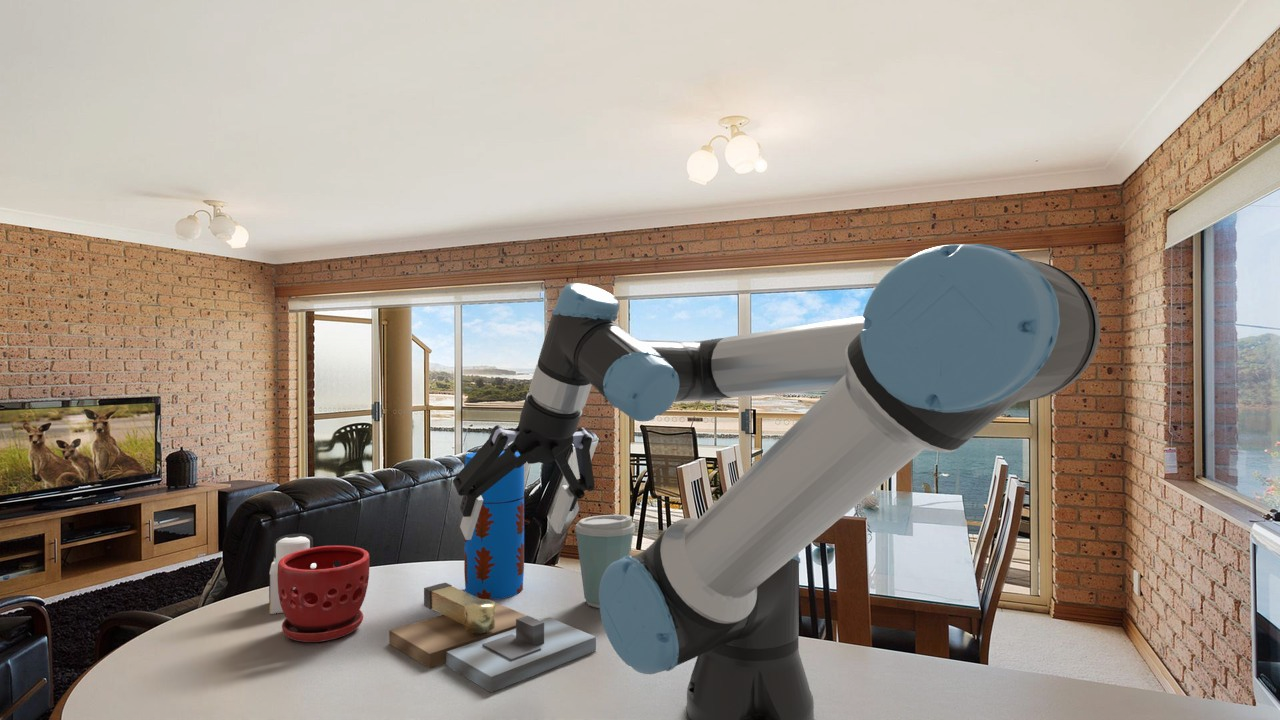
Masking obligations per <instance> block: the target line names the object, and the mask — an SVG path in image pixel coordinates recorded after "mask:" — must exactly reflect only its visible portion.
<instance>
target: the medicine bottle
mask: <svg viewBox="0 0 1280 720" xmlns="http://www.w3.org/2000/svg"><path fill="white" fill-rule="evenodd" d="M308 548H314V538H313V536H311V535H310V534H306V533H290V534H285V535H282V536H280V537H278V538H276V539H275V540H274V542H273V561H272V562H271V564H270V568H269V575H268V577H269V578H268V581H269V583H268V585H269V587H268V592H269V593H268V594H269V595H268V599H269V601H268V603H269V604H268V605H269V606H268V608H269V609H268V613H269V615H276V613H277V614H284V612H283V610H282V607H281V604H280V600H279V594H278V577H277V573H278V563H279V561H280V559H282V558H283V557H284V556H286V555H288V554H291V553H293V552H296V551H300V550H304V549H308ZM316 566H317V565H316V563H312V564H311V566H310V567H311V569H314V568H316ZM294 589H295V587H293V590H294Z"/></svg>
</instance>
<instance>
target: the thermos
mask: <svg viewBox="0 0 1280 720" xmlns="http://www.w3.org/2000/svg"><path fill="white" fill-rule="evenodd" d="M504 451H505V450H503V451H502V453H501V454H503V453H504ZM477 452H478V451H477ZM477 452H471V453H467V454H466V455H465V459H464V465H463V468H464V467H465V466H466V464H467V463H468V462H469V461H470V460H471V459H472V458H473V456H474V455H475V454H476V453H477ZM501 454H500V455H501ZM500 455H499V456H500ZM515 455H516V457H519V456H520V454H519V452H518V451H516V452H515ZM481 496H482V498H483V503H482V506H481V510H480V513H479V516H478V519H477V522H476V526H475V529H474V532H473V535H472V538H471V540H465V537H464V536H463V539H464V541H463V542H464V543H463V544H464V546H463V547H464V554H463V556H464V557H463V558H464V561H463V562H464V569H463V570H464V586H465V587H464V589H465V591H464V592H466V593H469V594H471V595H473V596H476V597H478V598H480V599H488V600H498V599H505V598H510V597H514V596H516V595H518V594H520V593H521V592H522V591H523V590H524V576H525V575H524V574H525V573H524V571H525V464H524V465H522V466H521V467H520V468H514V469H513V470H512V471H511V472H509V473H508V474H507V475H506V476H504V477H503V478H502V479H501V480H499V481H498V482H497V483H496V484H494V485H493V486H492V487H491V488H489V489H488V490H487V491H485V492H484V493H483V494H482V495H481Z"/></svg>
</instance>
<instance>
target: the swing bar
mask: <svg viewBox="0 0 1280 720" xmlns="http://www.w3.org/2000/svg"><path fill="white" fill-rule="evenodd" d="M495 602H496V601H494V600H493V599H480V598H478V597H476V596H473V595H471V594H469V593H466V591H463V590H461V589H459V588H457V587H455V586H452V584H451V583H447V582H443V583H439V584H434V585H431V586H427V587H424V588H423V607H425V608H427V609H429V610H433V611H435V612H438V613H439V614H441V615H445V616H447V617H449V618H451V619H453V620H455V621H457V622H459V623H461V624H463V625H465V630H466V631H467V632H471V633H483V632H487V631H490V630H492V629H494V628H495Z"/></svg>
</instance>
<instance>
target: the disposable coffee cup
mask: <svg viewBox="0 0 1280 720" xmlns="http://www.w3.org/2000/svg"><path fill="white" fill-rule="evenodd" d="M574 531H575V534H576V543H577V551H578V558H579V565H580V573H581V579H582V587H583V596H584V599H585V602H586V604H587V605H588V606H590V607H593V608H598V609H600V602H599V587H600V582H601V579H602V576H603V574H604V572H605V570H606V569H607V567H608V566H609V565H610V564H612V563H613V562H615V561H617V560H620V558H622V557H623V556H631V550H632V544H633V538H634V537H633V536H634V532H635V531H636V524H635V522H633V516H631V515H629V514H628V515H627V514H603V515H602V514H601V515H594V516H588V517H587V516H586V517H585V518H581V519H580V520H579V521H577V523H576V524H575V529H574Z"/></svg>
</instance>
